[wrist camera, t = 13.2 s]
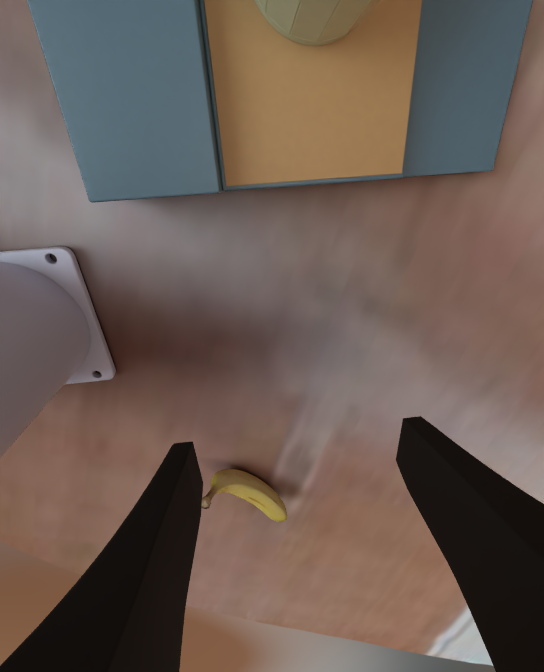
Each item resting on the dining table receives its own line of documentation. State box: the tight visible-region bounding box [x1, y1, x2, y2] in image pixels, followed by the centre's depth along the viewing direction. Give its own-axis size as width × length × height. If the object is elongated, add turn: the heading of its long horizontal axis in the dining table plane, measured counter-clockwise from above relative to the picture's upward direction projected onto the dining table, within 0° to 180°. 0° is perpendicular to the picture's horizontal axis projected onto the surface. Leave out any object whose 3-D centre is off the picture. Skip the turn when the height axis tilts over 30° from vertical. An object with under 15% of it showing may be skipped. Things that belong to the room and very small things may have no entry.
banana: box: [201, 469, 287, 522], centre depth 23 cm, size 8×2×4 cm, turn 48°
